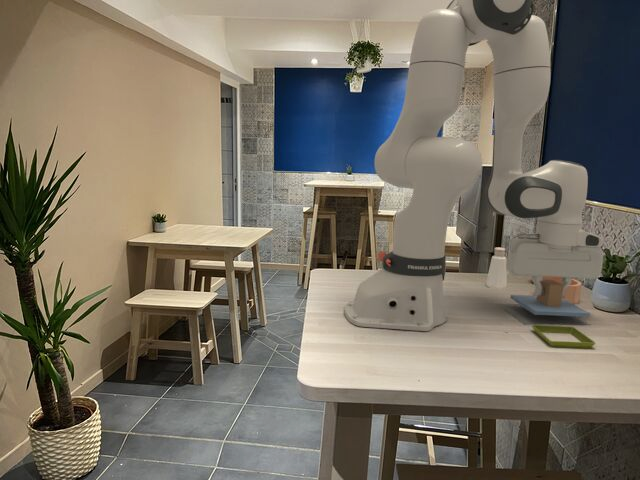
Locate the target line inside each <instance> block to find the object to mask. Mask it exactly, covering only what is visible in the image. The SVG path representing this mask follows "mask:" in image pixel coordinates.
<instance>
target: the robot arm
mask: <svg viewBox="0 0 640 480" xmlns="http://www.w3.org/2000/svg"><path fill="white" fill-rule="evenodd" d="M534 7H535V6H534V2H533V0H452V1H450V3H449V4H448V5H447V7H446V8H437V9H434V10H431V11H428V12H426V14H425V15H423V16H422V17H421V19H420V21H419V22H418V25H417V28H416V32H415V34H414V39H413V43H412V47H411V51H410V52H411V53H410V58H409V65H408V72H407V81H406V88H405V93H404V94H405V95H404V101H403V104H402V109H401V111H400V115H399V117H398V119H397V122H396V124H395V127H394V128H393V130H392V132H391V133H390V135H389V136H388V138H387V139H386V140H385V141H384V142H383V143H382V144H381V145H380V146H379V147H378V148H377V151H376V153H375V156H374V170H375V174H376V175H377V177H378V178H379V179H380V180H381V181H382V182H385V183H387V184H390V185H392V186H394V187H397V188H402V189H410V190H411V189H412V190H413V191H412V195H411V198H410V201H409V203H408V205H407V206H406V208H404V209H403V210H401V211H399V212H398V213H397V214H396V216H395V218H394V221H393V222H394V223H393V237H392V238H393V239H392V251H390V252H389V253H386V252H385V251H383V250H381V251H379V252H378V253H377V258H378V260H379V261H380V262H382V268H380V270H378V271H376V272H375V273H374V274H372V275H371V276H370V277H369V276H368V278H367V279H365V280H363V281H362V282H360V284H359V285H358V287H357V289H356V291H355V292H356V293H355V297H354V301H348V302H347V303H346V304H345V306H344V309H343V310H344V312H343V313H344V316H345V318H346V319H347V321H349V322H350V323H351V324H353V325H355V326H356V327H364V328H377V329H391V330H402V331H403V330H405V331H406V330H407V331H419V332H430V331H431V330H433V328H434V327H437V326H440V325H443V324H444V323H446V321H447V319H448V318H447V314H446V308H445V302H444V284H443V283H444V281H445V275H446V268H447V261H446V259H447V256H446V254H445V249H446V240H447V239H446V238H447V231H448V225H449V221H450V216H451V214H452V211H453V209H454V207H455V206H456V204H457V202H458V201H459V199H460V198H461V197H462V195H463V194H464V193H465V192H468V190H470V189H471V188H472V187H474V185H475V184H476V183H477V182H478V180H479V177H480V175H481V173H482V168H483V159H482V154H481V152H480V150H479V148H478V147H477V145H476V144H475V143H473V142H472V141H468V140H465V139H461V138H458V137H454V136H453V137H452V136H438V134H439V132H440V130H441V128H442V127H443V125H444V124H445V122H446V121H447V120H448V119H449V118H451V117H452V116H454V115H455V113H456V112H457V111H458V109H459V107H460V104H461V96H462V90H463V89H462V87H463V83H464V74H465V65H466V59H467V58H466V56H467V51H468V48H469V47H470V46H474V45H477V44H479V43H481V42H482V41H485V40H487V41H486V43H487V45H488V46H489V48H490V51H491V54H492V59H493V63H492V64H493V67H492V73H493V74H492V77H493V78H492V82H493V83H492V85H493V87H492V88H493V104H494V106H493V107H494V110H493V111H494V114H493V117H494V125H493V140H492V141H493V143H492V160H491V161H492V165H491V172H490V175H489V177H488V181H487V183H486V185H485V188H484V195H483V196H484V200H485V201H484V202H485V204H486V205H487V207H488V208H489V209H490V210H491V211H492V212H494V214H497V215H500V216H510V217H512V218H517V219H521V220H526V219H527V220H528V219H536V218H537V222H536V230H535V233H523V232H522V233H517V234H516V235H514V236H513V237H511V238H510V240H509V241H510V242H509V251H508V255H507V258H506V271H507V272H508V273H510V274H512V275H514V276H527V277H529V276H530V277H531V280H532V282H533V284H534V286H535V287H534V288H535V289H534V294H536V295H539V296H540V295H542V296H544V295H545V290H546V288H543V287H542V286H541V284H540V281H542V278H543V276H546V277H561V280H562V282H561V283H560V284H562V285H564V287H563V294H562V296H564V293H565V289H566V288H567V287H568V286H569V285H570V283H571V281H572V279H594V280H595V279H596V280H597V279H598V278H599V277H600V276H601V274H602V272H603V270H602V269H603V264H604V263H603V262H604V253H603V250H602V249H601V248H600V247H603V244H604V237H601V236H600V235H596V234H593V233H591V232H589V231H587V230H585V229H583V223H584V222H583V211H584V208H585V206H586V203H587V196H588V184H589V183H588V181H589V180H588V179H589V176H588V170H587V169H586V167H584V165H582V164H581V163H577V162H573V161H570V160H569V161H568V160H562V159H552V160H549V161H548V162H547V163H546V164H544V165H542V166H540V167H538V168H535V169H533V170H530V171H527V172H524V173H523V172H522V155H523V141H524V140H523V139H524V133H525V131H526V128H527V126H528V125H529V123H530V121H531V120H532V119H533V118H534V116H535V115H537V113H539V111H541V109H542V108H543V107H544V106H545V104H546V102H547V100H548V97H549V92H550V86H551V73H552V72H551V51H550V50H551V49H550V48H551V47H550V41H549V37H548V36H549V35H548V30H547V26H546V22H545V21H544V20H543V19H542V18H541V17H539V16H537V15H534V14H533V13H534Z"/></svg>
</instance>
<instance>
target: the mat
mask: <svg viewBox="0 0 640 480" xmlns="http://www.w3.org/2000/svg"><path fill="white" fill-rule="evenodd" d="M496 306H498V307H499V308H501V310H503V311H504V312H505V313H507V314H509V315H510V316H512V317H513V318H514V319H516V320H517V321H519V322H520V323H521V324H523V325H528V326H529V325H530V326H532V325H549V326H592V324H591V323H589V322H587V321H586V320H583V319H582V318H580V317H579V316H556V315H534V314H533V313H532V312H530V311H529V310H527V309H526V308H524V307H523V306H521V305H520V304H518V303H496Z"/></svg>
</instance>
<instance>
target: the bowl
mask: <svg viewBox="0 0 640 480" xmlns="http://www.w3.org/2000/svg"><path fill="white" fill-rule="evenodd" d="M542 279H550V280H554V281H556V282H558V283H561V282H562V280H561V277H546V276H543V278H542ZM581 291H582V282H581V281H579V280H577V279H576V278H572V281H571V283H570V285H569V286H568V287H567V288H566V289H565V293H564V296H562V298H563V299H565V300H567V301H568V302H570V303H572V304H574V305H576V304H578V303H580V298H581V297H580V296H581ZM534 294H535V293H534ZM534 296H537V295H536V294H535V295H534Z"/></svg>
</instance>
